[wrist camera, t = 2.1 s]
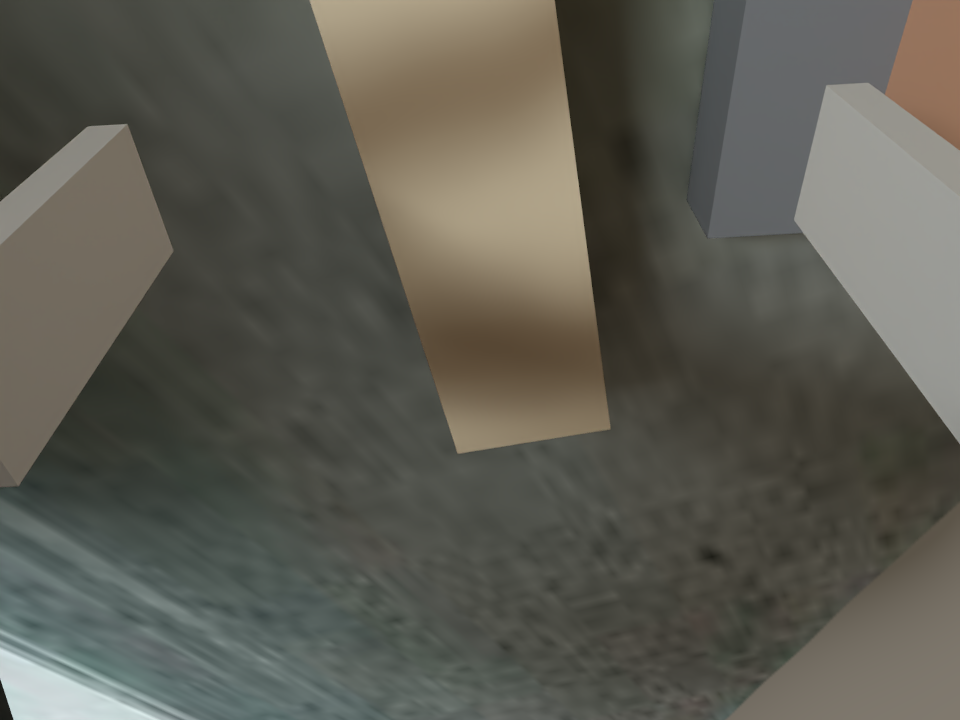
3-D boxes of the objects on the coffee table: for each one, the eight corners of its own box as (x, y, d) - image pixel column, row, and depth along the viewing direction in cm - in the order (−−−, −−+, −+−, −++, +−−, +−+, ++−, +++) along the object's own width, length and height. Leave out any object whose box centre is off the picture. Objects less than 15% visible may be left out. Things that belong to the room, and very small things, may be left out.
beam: (588, 335, 27) (610, 429, 23) (458, 358, 27) (457, 453, 23) (457, -596, 13) (456, -754, 9) (204, -513, 14) (103, -630, 10)
